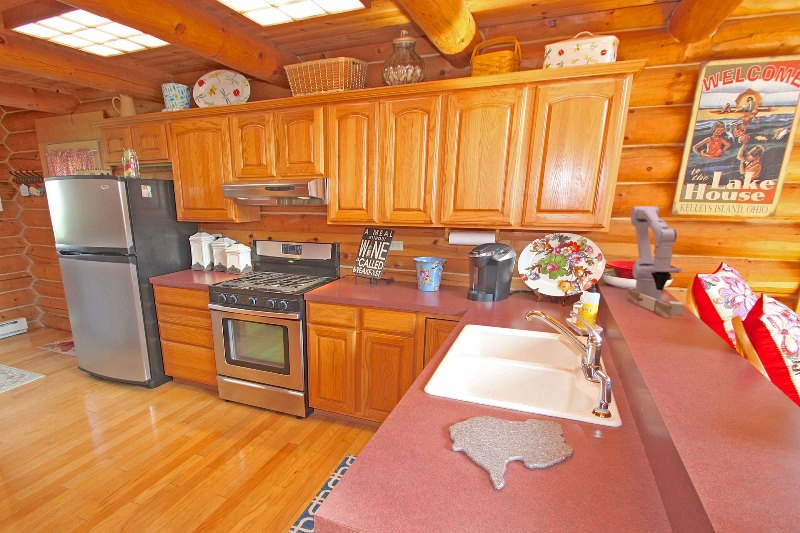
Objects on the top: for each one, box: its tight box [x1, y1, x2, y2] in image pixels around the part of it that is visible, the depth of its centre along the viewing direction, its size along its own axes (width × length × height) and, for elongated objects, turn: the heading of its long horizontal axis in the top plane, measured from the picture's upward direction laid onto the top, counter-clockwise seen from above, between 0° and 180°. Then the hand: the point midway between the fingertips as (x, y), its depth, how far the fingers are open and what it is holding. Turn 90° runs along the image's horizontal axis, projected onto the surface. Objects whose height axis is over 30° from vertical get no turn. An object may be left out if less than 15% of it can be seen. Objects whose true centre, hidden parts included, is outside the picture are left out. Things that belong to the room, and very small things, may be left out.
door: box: [638, 294, 659, 313], centre depth 147 cm, size 2×12×5 cm, turn 174°
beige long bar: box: [627, 289, 672, 319], centre depth 148 cm, size 2×28×5 cm, turn 174°
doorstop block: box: [667, 300, 685, 316], centre depth 140 cm, size 4×4×4 cm
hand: (659, 289), depth 149 cm, fingers closed
